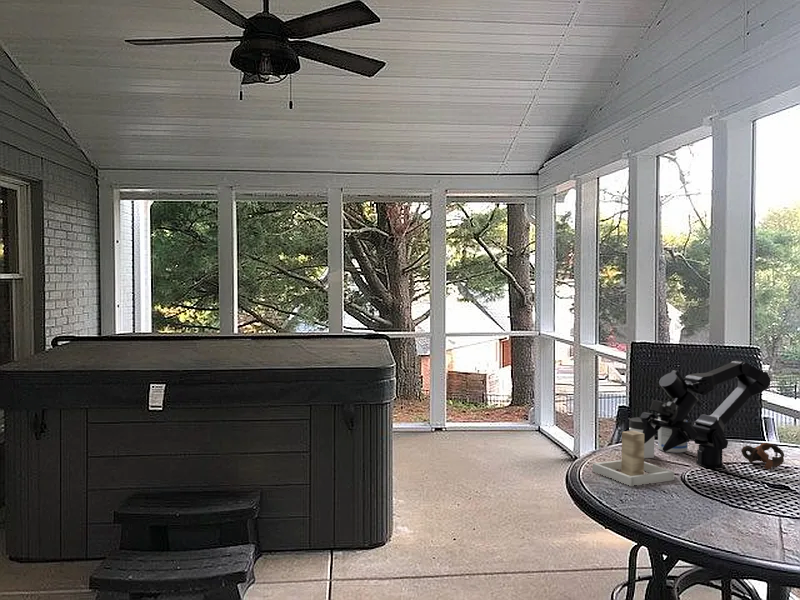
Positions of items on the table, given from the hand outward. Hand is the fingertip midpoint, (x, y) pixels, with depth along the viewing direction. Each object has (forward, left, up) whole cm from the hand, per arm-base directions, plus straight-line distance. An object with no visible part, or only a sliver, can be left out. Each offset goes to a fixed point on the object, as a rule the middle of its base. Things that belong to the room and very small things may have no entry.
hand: (652, 447), depth 209 cm
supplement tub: (-21, -27, -8) cm, 35 cm away
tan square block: (+7, +2, -8) cm, 11 cm away
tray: (+7, +2, -8) cm, 11 cm away
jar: (-7, -21, -8) cm, 23 cm away
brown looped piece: (-39, -5, -8) cm, 40 cm away
